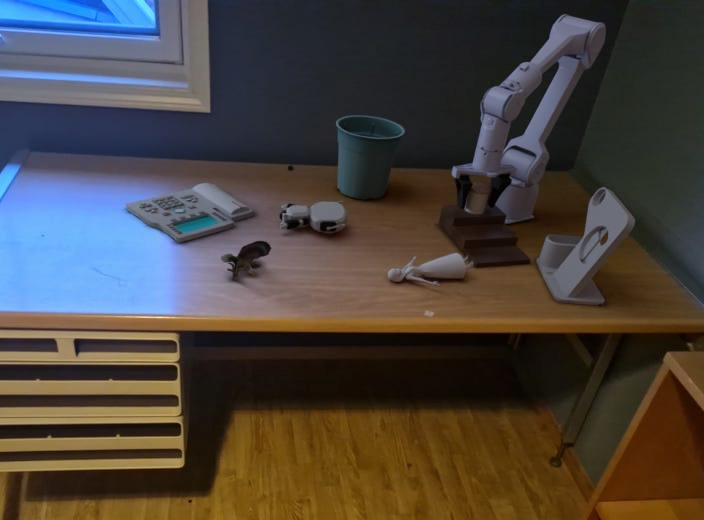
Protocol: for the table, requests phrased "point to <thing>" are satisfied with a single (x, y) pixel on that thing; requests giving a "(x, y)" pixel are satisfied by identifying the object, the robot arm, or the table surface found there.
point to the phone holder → (585, 251)
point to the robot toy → (314, 216)
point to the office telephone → (191, 212)
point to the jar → (477, 198)
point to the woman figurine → (433, 269)
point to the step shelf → (482, 236)
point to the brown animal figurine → (247, 257)
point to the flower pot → (366, 154)
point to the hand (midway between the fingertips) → (475, 206)
